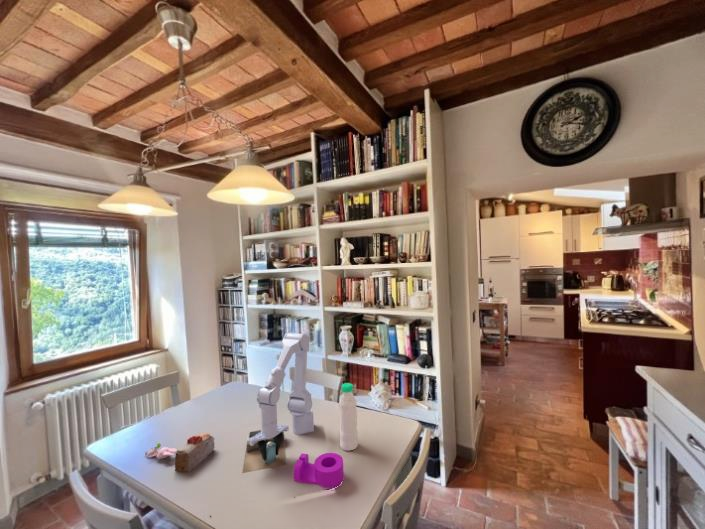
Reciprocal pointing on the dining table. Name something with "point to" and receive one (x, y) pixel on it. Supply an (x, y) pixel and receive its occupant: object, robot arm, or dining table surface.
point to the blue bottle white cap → (270, 453)
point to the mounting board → (256, 461)
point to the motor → (255, 446)
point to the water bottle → (348, 418)
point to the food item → (194, 452)
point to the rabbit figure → (161, 452)
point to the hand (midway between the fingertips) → (270, 456)
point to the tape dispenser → (320, 470)
